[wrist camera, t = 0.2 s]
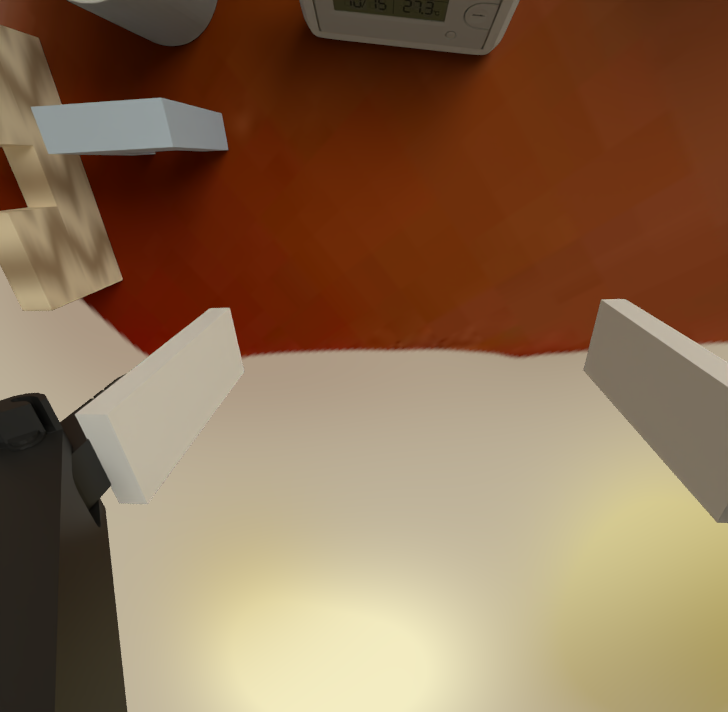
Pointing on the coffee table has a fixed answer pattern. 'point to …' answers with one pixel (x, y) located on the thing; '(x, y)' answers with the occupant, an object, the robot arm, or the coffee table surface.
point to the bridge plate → (129, 127)
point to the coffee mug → (156, 17)
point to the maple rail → (45, 194)
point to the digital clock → (413, 22)
